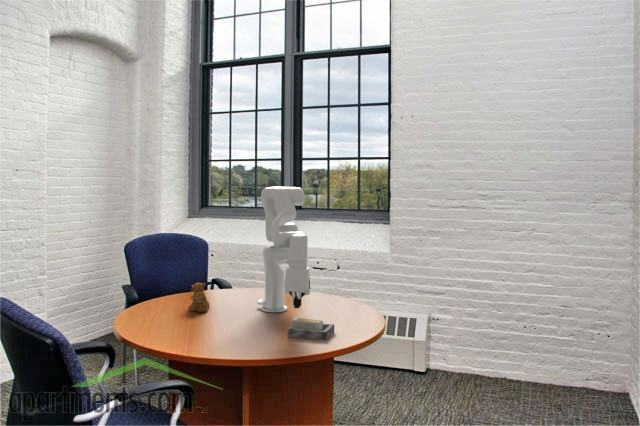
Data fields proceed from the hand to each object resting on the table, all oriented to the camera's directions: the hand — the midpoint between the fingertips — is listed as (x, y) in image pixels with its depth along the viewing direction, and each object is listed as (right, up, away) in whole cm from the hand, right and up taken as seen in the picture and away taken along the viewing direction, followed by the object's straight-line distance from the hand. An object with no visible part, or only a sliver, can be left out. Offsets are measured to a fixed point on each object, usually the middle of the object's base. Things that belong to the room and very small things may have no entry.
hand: (297, 307), depth 215 cm
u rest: (+6, -11, -2) cm, 12 cm away
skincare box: (-2, -7, 0) cm, 8 cm away
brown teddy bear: (-48, -8, +36) cm, 61 cm away
